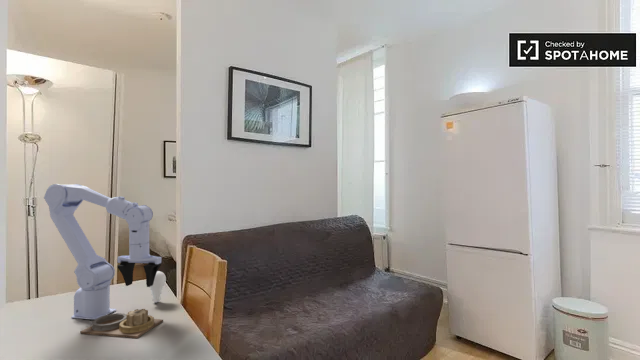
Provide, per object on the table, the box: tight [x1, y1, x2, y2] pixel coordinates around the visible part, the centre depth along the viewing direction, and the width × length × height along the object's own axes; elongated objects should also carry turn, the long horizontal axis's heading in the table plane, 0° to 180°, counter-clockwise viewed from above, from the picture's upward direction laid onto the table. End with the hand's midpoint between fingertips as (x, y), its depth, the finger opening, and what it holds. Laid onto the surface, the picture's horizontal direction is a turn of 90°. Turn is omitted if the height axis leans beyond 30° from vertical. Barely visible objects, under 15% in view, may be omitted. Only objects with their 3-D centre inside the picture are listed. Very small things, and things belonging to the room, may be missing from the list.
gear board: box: [80, 312, 164, 339], centre depth 96 cm, size 18×11×2 cm, turn 80°
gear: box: [125, 308, 149, 326], centre depth 95 cm, size 5×5×4 cm
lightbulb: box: [148, 270, 167, 303], centre depth 116 cm, size 6×6×11 cm
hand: (139, 285), depth 105 cm, fingers open, 7 cm apart
